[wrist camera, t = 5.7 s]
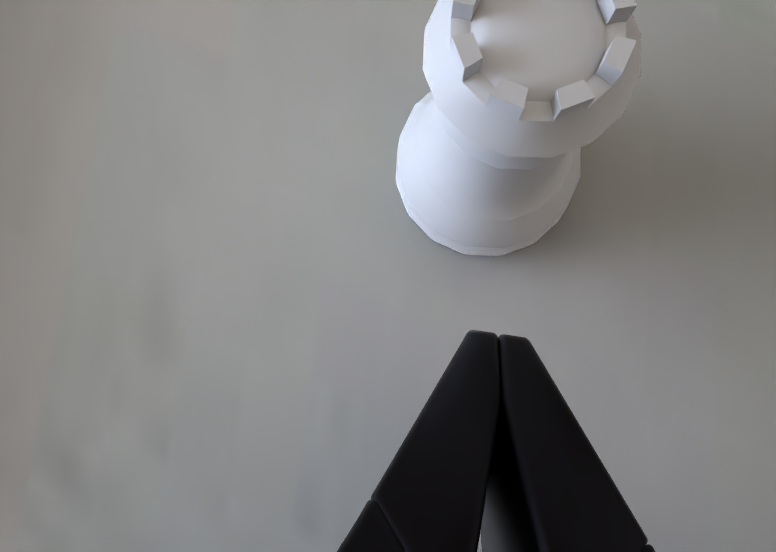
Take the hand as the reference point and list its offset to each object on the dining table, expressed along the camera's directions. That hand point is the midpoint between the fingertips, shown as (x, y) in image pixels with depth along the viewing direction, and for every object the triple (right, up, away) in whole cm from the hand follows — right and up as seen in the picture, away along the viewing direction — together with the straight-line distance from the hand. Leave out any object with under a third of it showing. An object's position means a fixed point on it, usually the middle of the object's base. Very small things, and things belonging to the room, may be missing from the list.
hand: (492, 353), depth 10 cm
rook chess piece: (+1, +4, +8) cm, 9 cm away
